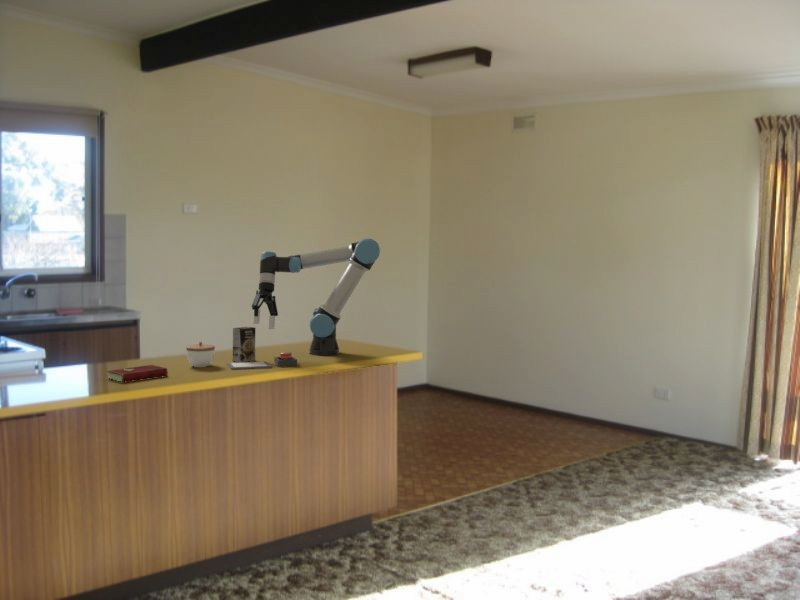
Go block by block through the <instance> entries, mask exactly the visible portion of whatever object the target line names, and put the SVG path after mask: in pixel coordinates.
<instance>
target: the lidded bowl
mask: <svg viewBox="0 0 800 600" xmlns="http://www.w3.org/2000/svg"><path fill="white" fill-rule="evenodd" d="M198 342H199V343H198V344H190V345H187V346H186V347H185V348H186V349H185V350H186V358H187V361H188V362H189V364H190V365H191V366H192V367H193V366H194V367H193V368H207V367H206V366H208V367H210V365H211V364H212V362H213V361H214V358H215V348H216V346H215V345H212V344H205V343H203V342H202V341H198Z"/></svg>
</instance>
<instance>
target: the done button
mask: <svg viewBox="0 0 800 600" xmlns="http://www.w3.org/2000/svg"><path fill="white" fill-rule="evenodd" d="M279 357H280V360H290V359H291V357H292V352H290V351H281V352H279Z"/></svg>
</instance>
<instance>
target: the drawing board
mask: <svg viewBox="0 0 800 600" xmlns="http://www.w3.org/2000/svg"><path fill="white" fill-rule="evenodd" d="M226 365H227V366H228V368H229V367H230V368H231V369H235V370H252V369H251V368H259V369H272V365H271V364H270V363H268V362H267V361H251V362H239V363H238V362H227V363H226ZM230 368H229V369H230ZM231 369H230V370H231Z"/></svg>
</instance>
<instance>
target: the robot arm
mask: <svg viewBox="0 0 800 600" xmlns="http://www.w3.org/2000/svg"><path fill="white" fill-rule="evenodd" d="M380 252H381V248H380V246H379V243H378V242H377V241H376V240H375V239H373V238H364V239H363V238H362V239H361V240H360V241H356V242H352V243H350V244H349V245H346V246H345V245H344V246H340V247H335V248H329V249H328V248H327V249H323V250H319V251H312V252H307V253H301V254H295V255H289V256H277V253H276V252H274V251H263V252H262V253H261V254H260V262H259V277H258V278H259V279H258V280H259V281H258V282H259V283H258V289H256V294H255V296H254V299H253V302H252V303H251V309H252V311H253V310H254V311H253V324H256V325H258V324H259V325H260V322H261V321H260V320H261V319H260V318H261V310H260V309H261V306H262V305H263V304H264V303H265V305H266V306H267V309H268V313H269V316H268V330H274V329H275V324H276V322H275V321H276V317H278V316H279V312H278V308H277V302H276V295H273V293H274V292H275V282H276V273H292V274H294V273H297V274H298V273H300V272H301V270H305V269H311V268H315V267H322V266H327V265H328V266H329V265H333V264H339V263H345V262H349V263H348V264H347V267H346V269H345V270H344V271H343V273H342V275H341V277H340V278H339V280H338V282H337V283H336V285H335V287H334V288H333V291H332V292H331V293H330V295H329V296H328V298H327V300H326V302H325V303H324V304H320V306H319V307H316V308H314V309H313V312H312V315H313V316H312V318H311V319H310V321H309V322H310V323H309V329H310V331H311V333H312V334H313V335H312V337H313V338H312V340H311V343H310V347H309V354H310V353H311V355H314V354H315V356H335V354H336V355H339V354H340V347H339V343H338V340H337V325H338V323H339V321H340V319H341V312H342V310H343V309H344V307H345V306H346V304H347V302H348V300H349V299H350V297H352V294H353V293H354V291H355V289H356V287H357V286H358V284H359V283H360V281H361V279H362V277H363V276H364V274H365V273H366V272H369V271H370V270H371V269H372V268H373V266H374V264H375V262H376V261H377V260H378V258H379V256H380Z"/></svg>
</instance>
